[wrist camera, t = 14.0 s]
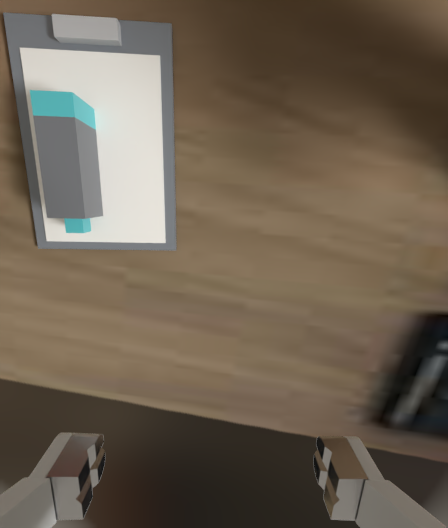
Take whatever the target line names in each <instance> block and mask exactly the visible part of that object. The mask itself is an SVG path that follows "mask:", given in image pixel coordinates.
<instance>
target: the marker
mask: <svg viewBox="0 0 448 528" xmlns="http://www.w3.org/2000/svg"><path fill="white" fill-rule="evenodd" d="M30 97H31V104H32V111H33V119H34V126H35V133H36V141H37V148H38V155H39V163H40V170H41V178H42V185H43V192H44V200H45V207H46V214H47V218H64V221H65V229H66V233H87V232H90V231H91V222H90V218H94V217H100V216H103V207H102V195H101V184H100V172H99V160H98V148H97V136H96V125H95V113H94V109H93V108H92V107H91V106H90V105H88V104H87V103H86V102H84V101H83V100H82V99H81V98H79V97H78V96H77V95H75V94H74V93H73V92H60V91H40V90H30Z"/></svg>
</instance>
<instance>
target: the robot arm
mask: <svg viewBox="0 0 448 528" xmlns="http://www.w3.org/2000/svg"><path fill="white" fill-rule="evenodd" d="M103 443H104V438H103V434H89V433H88V434H87V433H60V434H59V435H58V436H57V437H56V438H55V439H54V441H53V442H52V444H51V445H50V447H49V448H48V450H47V451H46V453H45V454H44V455H43V457H42V458H41V460H40V462H39V463H38V464H37V466H36V467H35V469H34V470H33V472H32V474H31V475H30V476H29V478H23V479H22V480H20V481H19V482H18V483H16V484H15V485H14V486H12V487H11V488H10V489H8V490H7V491H5V492H4V493H2V494H1V495H0V528H52V526H53V525H54V524H55V523H56V520H77V519H84V516H85V514H86V512H87V509H88V507H89V505H90V502H91V500H92V497H93V495H92V488H93V487H94V486H96V485H97V484H98V483H99V480H100V478H101V475H102V472H103V468H104V464H105V451H104V450H103V449H102V448H101V447H102V445H103ZM316 446H317V448H318V450H317V451H316V452H315V453H314V461H313V462H314V471H315V475H316V479H317V481H318V484H319V485H320V486H321V487H322V488H323V489H324V496H323V499H324V501H325V504H326V507H327V510H328V512H329V515H330V518H331V520H352V521H356V523H357V524H358V525H359V527H360V528H447V527H446V526H445V525H443V524H442V523H441V522H439V521H438V520H437V519H436V518H434V517H433V516H432V515H431V514H430V513H429V512H427V511H426V510H425V509H424V508H422V507H421V506H420V505H419V504H417V503H416V502H415V501H414V500H413V499H411V498H410V497H409V496H408V495H406V494H405V493H404V492H402V491H401V490H400V489H399V488H398V487H396V486H395V485H394V484H393V483H392V482H390V481H389V480H384V478H383V477H382V475H381V473H380V472H379V470H378V468H377V466H376V465H375V463H374V461H373V460H372V458H371V456H370V455H369V453H368V451H367V450H366V448H365V446H364V445H363V443H362V441H361V440H360V439H359V438H358V437H343V436H318V438H317V441H316Z"/></svg>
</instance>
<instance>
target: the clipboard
mask: <svg viewBox="0 0 448 528" xmlns="http://www.w3.org/2000/svg"><path fill="white" fill-rule="evenodd" d="M3 15H4V22H5V29H6V36H7V42H8V49H9V56H10V63H11V69H12V76H13V83H14V90H15V96H16V103H17V110H18V116H19V123H20V130H21V137H22V143H23V150H24V157H25V164H26V170H27V177H28V184H29V191H30V197H31V204H32V211H33V218H34V224H35V231H36V238H37V245H38V248H42V249H113V250H176V198H175V145H174V93H173V41H172V24H171V23H157V22H142V21H126V20H118V19H117V18H107V17H91V16H76V15H60V14H52V16H49V15H33V14H18V13H3ZM30 90H40V91H60V92H73V93H74V94H75V95H77V96H78V97H79V98H81V99H82V100H83V101H84V102H86V103H87V104H88V105H90V106H91V107H92V108H93V109H94V113H95V125H96V136H97V148H98V160H99V172H100V184H101V195H102V207H103V216H100V217H94V218H90V222H91V231H90V232H87V233H66V229H65V221H64V218H47V214H46V207H45V200H44V192H43V185H42V178H41V170H40V163H39V155H38V148H37V141H36V133H35V126H34V119H33V111H32V104H31V97H30Z"/></svg>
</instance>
